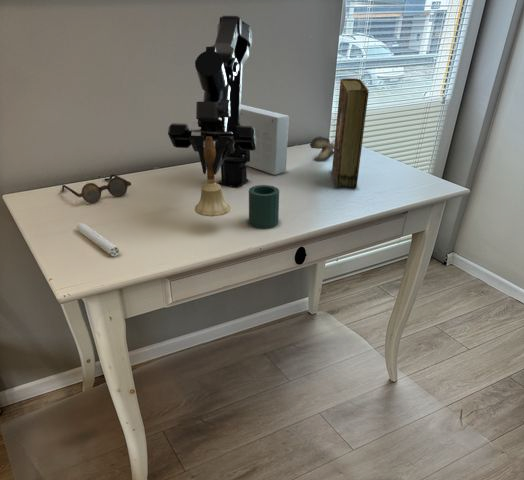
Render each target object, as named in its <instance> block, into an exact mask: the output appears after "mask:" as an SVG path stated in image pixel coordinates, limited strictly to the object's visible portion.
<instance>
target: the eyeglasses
mask: <svg viewBox="0 0 524 480" xmlns="http://www.w3.org/2000/svg"><path fill="white" fill-rule="evenodd" d="M104 181H106V182H107V181H108V183H107V185H106V184H105V185H100V186H99V185H98V184H96V183H94V182H88V183H86V184H84V185H83V187H82V188H81V192H79V193H78V192H77V191H75V190H74V189H72V188H70V187H68V186H67V185H65V184H62V185H61V189H62V191H63V192H64V191H65V189H66V190H67V191H68V192H71V193H72V194H73V195H74V196H76V197H77V198H82V199H83V200H84V202H86V203H88V204H96V203H98V202H99V201H100V200H101V196H102V192H103V191H104V190H107V191H108V192H109V194H110V195H111V196H113V197H115V198H120V197H123V196H124V195H125V194H126V193H127V191H128V188H129V187H130V186H131V185H132V182H130V181H128V180H127V179H124V178H123V177H121V176H119V175H117V174H114V173H111V174H110V176H109V177H108V178H107V177H105V178H104Z"/></svg>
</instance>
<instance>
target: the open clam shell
mask: <svg viewBox="0 0 524 480" xmlns="http://www.w3.org/2000/svg"><path fill="white" fill-rule="evenodd" d="M334 144H335V139H333V140H332V141H330V139H329V137H323V136H316V137H314V138H313V139H311V141H310V143H309V147H310V148H311V149H316V150H320V149H321V150H320V151H319V152H318V155H317V156H316V157H314V160H315V161H316V162H325V161H327V160H329V159H330V157H332V155H334Z"/></svg>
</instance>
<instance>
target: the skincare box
mask: <svg viewBox="0 0 524 480" xmlns="http://www.w3.org/2000/svg"><path fill="white" fill-rule="evenodd" d="M289 122H290V115H287V114H283V113H280V112H274V111H270V110H267V109H262V108H258V107H253V106H249V105H244V104H241V116H240V126H253V128H254V129H255V135H256V149H255V150H253V151H250V162H247V163H245V166H246V167H249V168H253V169H256V170H259V171H262V172H265V173H268V174H271V175H274V176H276V175H279V174H283V173H286V172H287V160H288V159H287V158H288V140H289V124H290V123H289ZM243 156H244V155H243Z"/></svg>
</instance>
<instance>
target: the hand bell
mask: <svg viewBox="0 0 524 480" xmlns="http://www.w3.org/2000/svg"><path fill="white" fill-rule="evenodd" d="M215 157H216V149H215V141H213V139H212V137H211V136H207V137H206V141H205V145H204V158H205V162H206V165H207V170H206V183H205V184H203V185H202V186H201V192H200V198H199V201H198V203H197V204H196V205H195V207H194V212H195V213H196V214H198V215H199V216H203V217H220V216H224V215H226V214H228V213H230V212H231V209H232V208H231V206H230V204H229V203H228V202H227V201H226V200H225V198H224V194H223V189H222V186H221V184H219V183H217V182H216V180H215V179H216V178H215V176H216V175H214V163H215Z"/></svg>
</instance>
